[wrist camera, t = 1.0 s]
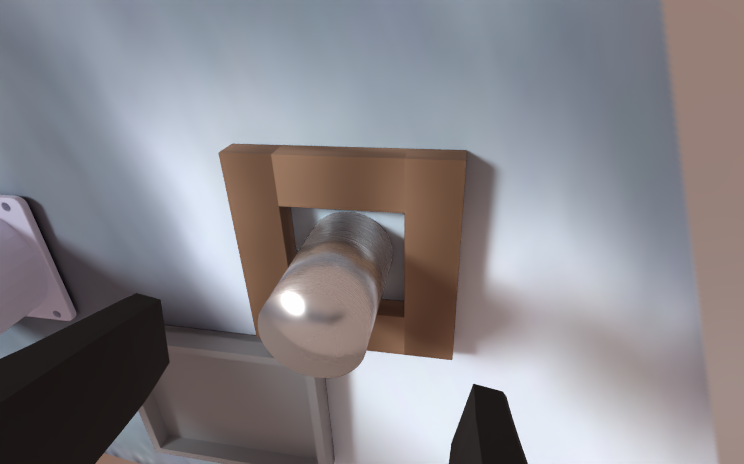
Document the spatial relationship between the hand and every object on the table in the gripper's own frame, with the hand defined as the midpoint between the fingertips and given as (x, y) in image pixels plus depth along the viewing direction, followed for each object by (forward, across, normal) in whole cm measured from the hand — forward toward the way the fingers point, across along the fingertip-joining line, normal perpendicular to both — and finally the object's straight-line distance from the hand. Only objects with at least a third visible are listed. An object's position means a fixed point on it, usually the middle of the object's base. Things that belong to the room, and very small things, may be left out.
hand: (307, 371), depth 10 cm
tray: (+10, +7, +16) cm, 20 cm away
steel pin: (+10, +1, +4) cm, 11 cm away
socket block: (+10, +1, +4) cm, 11 cm away
